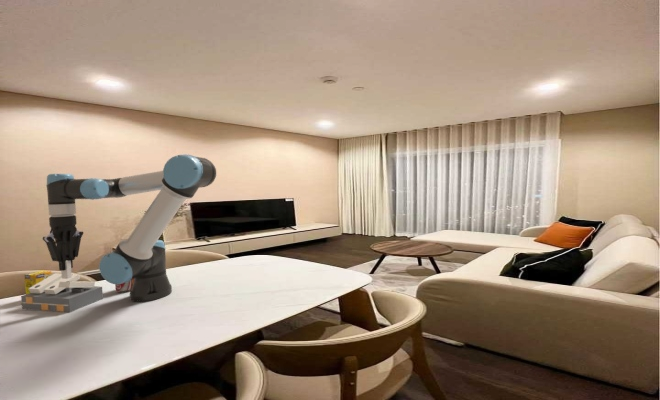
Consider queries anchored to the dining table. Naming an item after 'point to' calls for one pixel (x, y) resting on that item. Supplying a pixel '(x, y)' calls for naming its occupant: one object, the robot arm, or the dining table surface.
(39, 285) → the rocker
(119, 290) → the beverage can
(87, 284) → the rocker
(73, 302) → the switch unit
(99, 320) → the dining table surface
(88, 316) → the dining table surface
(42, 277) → the supplement box
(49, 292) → the rocker
